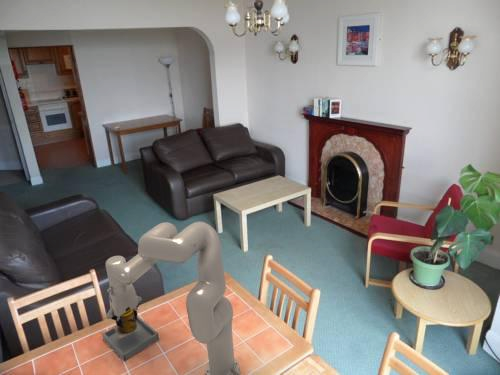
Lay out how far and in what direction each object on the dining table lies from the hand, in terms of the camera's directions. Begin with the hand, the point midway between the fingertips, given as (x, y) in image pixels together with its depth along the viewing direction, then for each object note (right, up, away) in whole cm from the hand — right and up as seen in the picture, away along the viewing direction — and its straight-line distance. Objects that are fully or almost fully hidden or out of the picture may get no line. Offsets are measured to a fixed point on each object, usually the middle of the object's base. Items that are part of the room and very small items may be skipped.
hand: (127, 321), depth 154 cm
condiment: (0, -3, +1) cm, 4 cm away
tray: (+1, -9, +3) cm, 9 cm away
